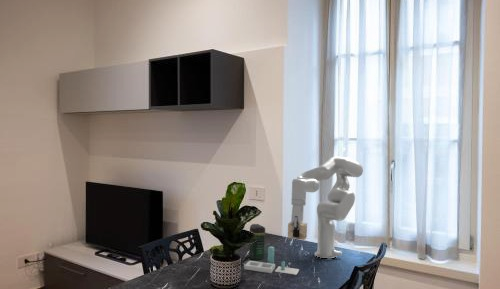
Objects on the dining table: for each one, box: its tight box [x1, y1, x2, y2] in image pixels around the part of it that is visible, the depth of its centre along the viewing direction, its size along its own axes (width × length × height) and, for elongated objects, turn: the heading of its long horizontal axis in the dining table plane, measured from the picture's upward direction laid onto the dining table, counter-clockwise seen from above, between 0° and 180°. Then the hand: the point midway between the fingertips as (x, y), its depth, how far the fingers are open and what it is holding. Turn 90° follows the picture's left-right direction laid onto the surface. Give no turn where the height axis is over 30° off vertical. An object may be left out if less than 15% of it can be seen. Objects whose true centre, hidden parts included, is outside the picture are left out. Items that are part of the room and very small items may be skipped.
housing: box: [287, 221, 308, 241], centre depth 187 cm, size 9×6×8 cm
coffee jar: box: [248, 223, 266, 261], centre depth 196 cm, size 10×8×19 cm
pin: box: [267, 246, 275, 264], centre depth 186 cm, size 3×3×9 cm
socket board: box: [243, 260, 276, 274], centre depth 178 cm, size 14×8×2 cm, turn 72°
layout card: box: [274, 260, 300, 276], centre depth 176 cm, size 11×8×5 cm
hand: (297, 235), depth 187 cm, fingers closed on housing, 6 cm apart
